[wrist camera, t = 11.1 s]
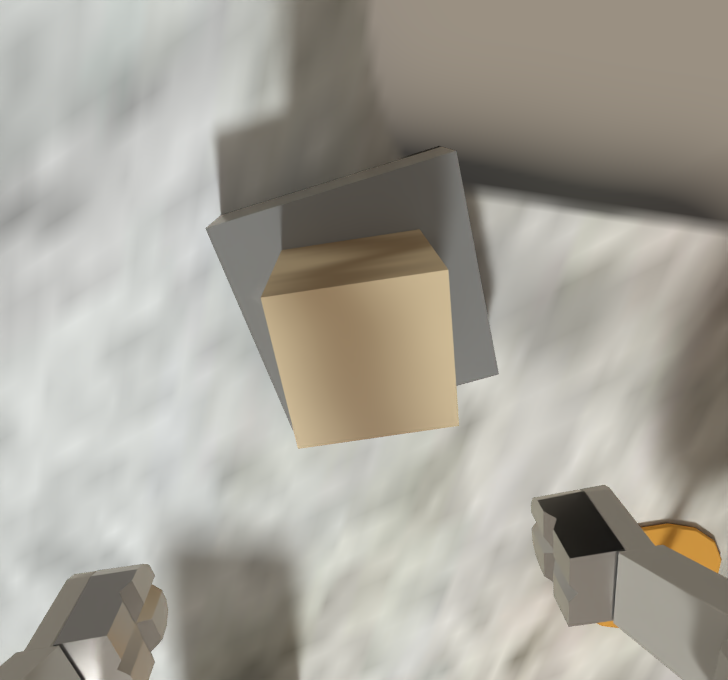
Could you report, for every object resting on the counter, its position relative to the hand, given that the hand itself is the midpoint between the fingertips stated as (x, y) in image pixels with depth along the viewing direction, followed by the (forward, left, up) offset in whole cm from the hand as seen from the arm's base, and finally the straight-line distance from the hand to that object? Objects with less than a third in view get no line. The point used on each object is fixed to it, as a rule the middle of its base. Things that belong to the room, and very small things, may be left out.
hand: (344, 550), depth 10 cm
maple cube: (-1, -2, -10) cm, 10 cm away
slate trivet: (-1, -2, -13) cm, 13 cm away
